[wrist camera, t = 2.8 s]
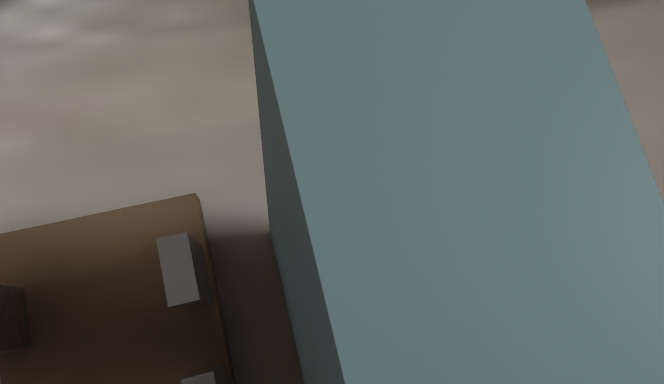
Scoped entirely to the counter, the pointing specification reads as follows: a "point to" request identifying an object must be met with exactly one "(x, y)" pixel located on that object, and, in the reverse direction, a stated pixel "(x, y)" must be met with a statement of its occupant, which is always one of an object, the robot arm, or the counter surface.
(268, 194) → the door
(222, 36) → the counter surface
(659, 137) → the counter surface
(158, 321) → the brown base with posts
